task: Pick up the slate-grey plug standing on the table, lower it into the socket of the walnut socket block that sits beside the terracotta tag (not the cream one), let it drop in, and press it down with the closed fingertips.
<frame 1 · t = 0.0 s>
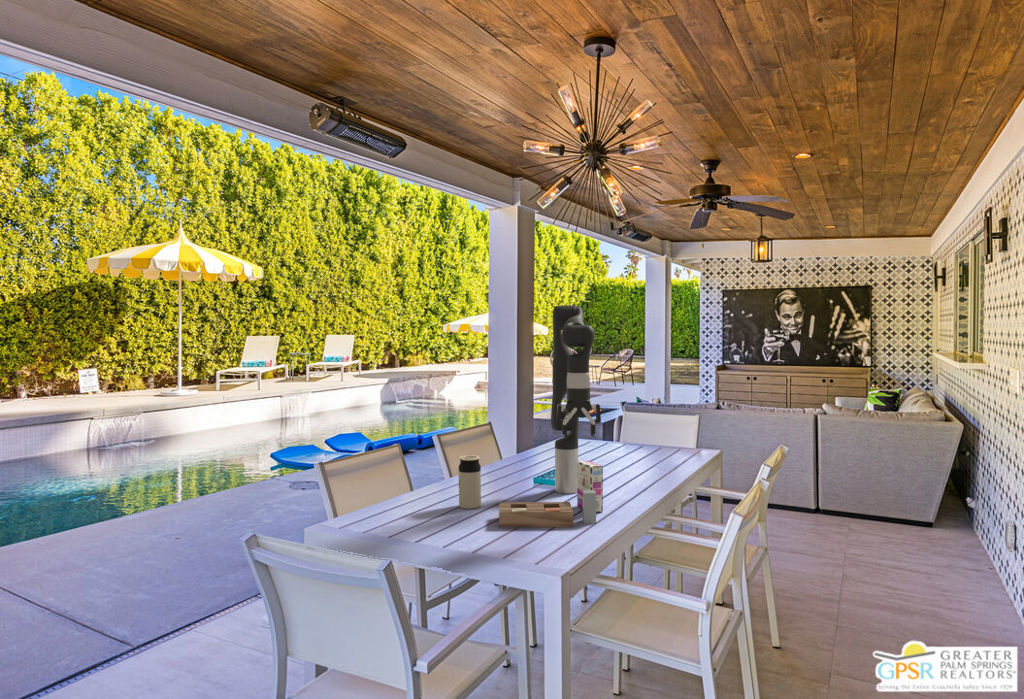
hand: (578, 436, 214), 29 cm above the table, tool pointing down, fingers open, 8 cm apart
socket block: (535, 521, 219), on the table
candy bar box: (589, 509, 234), on the table
plug: (589, 521, 219), on the table
travel mug: (470, 506, 239), on the table
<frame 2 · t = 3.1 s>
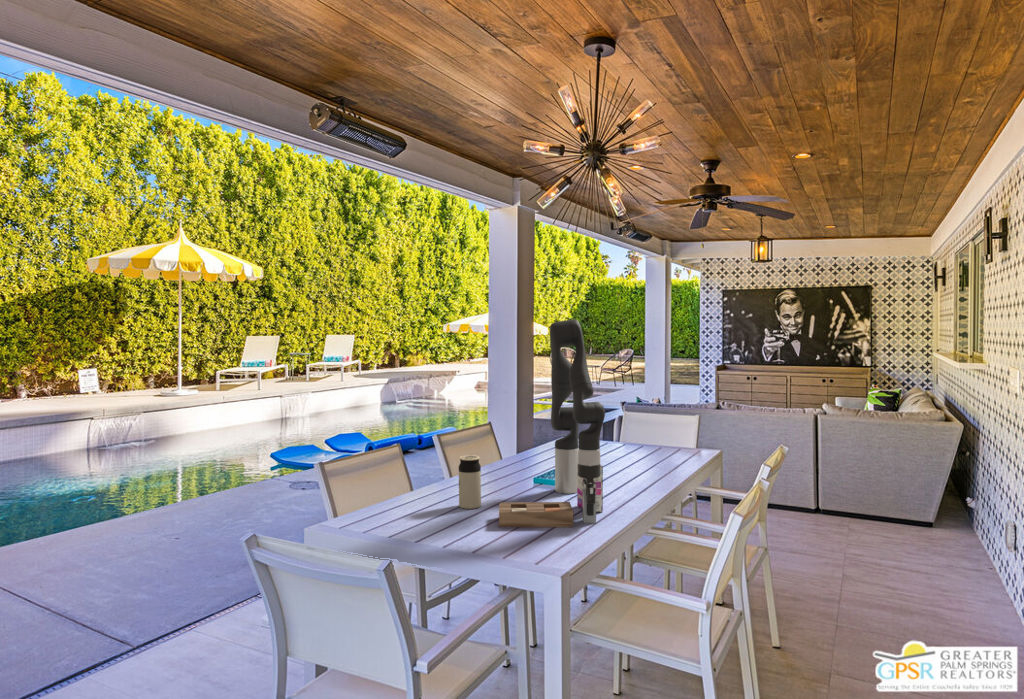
hand: (589, 513, 219), 3 cm above the table, tool pointing down, fingers closed on plug, 4 cm apart
plug: (589, 521, 219), on the table, touching gripper
everything else where it was.
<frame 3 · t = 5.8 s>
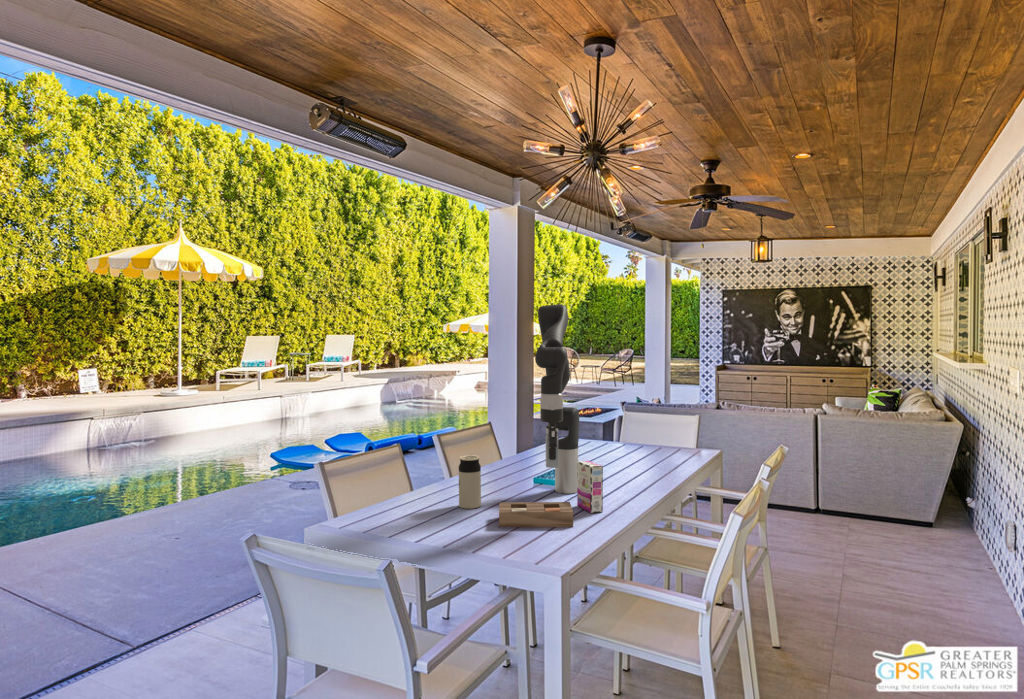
hand: (552, 457, 219), 21 cm above the table, tool pointing down, fingers closed on plug, 4 cm apart
plug: (552, 466, 220), point 18 cm above the table, touching gripper
everything else where it was.
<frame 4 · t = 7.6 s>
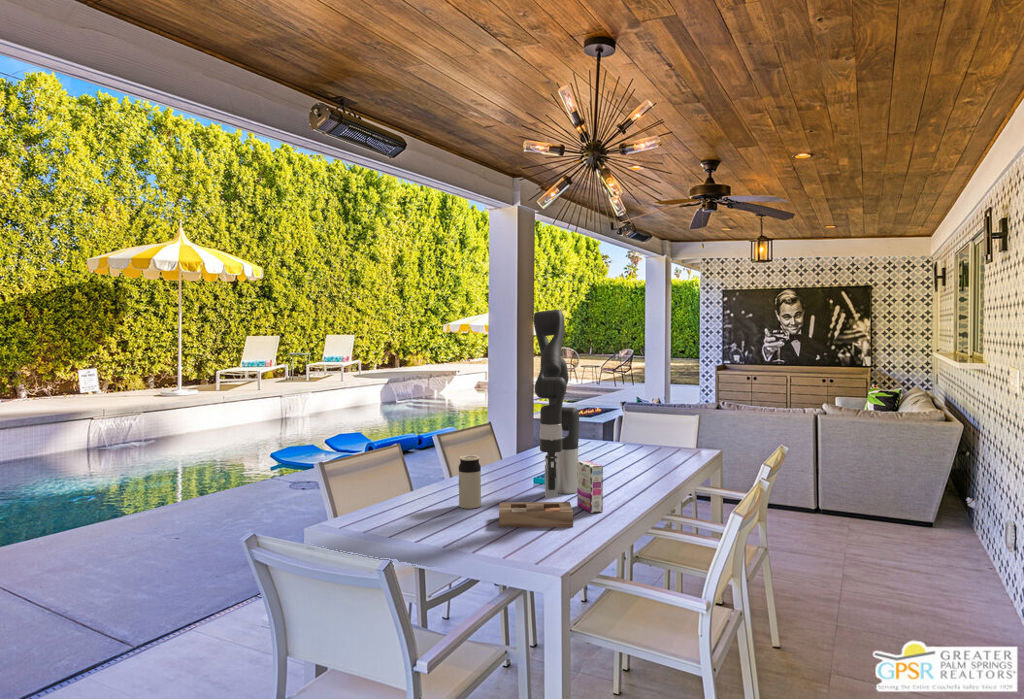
hand: (551, 487, 220), 11 cm above the table, tool pointing down, fingers closed on plug, 4 cm apart
plug: (551, 496, 220), point 8 cm above the table, touching gripper
everything else where it was.
when the fingers open (7 cm above the table, at t = 8.9 s): plug drops 3 cm, resting on socket block.
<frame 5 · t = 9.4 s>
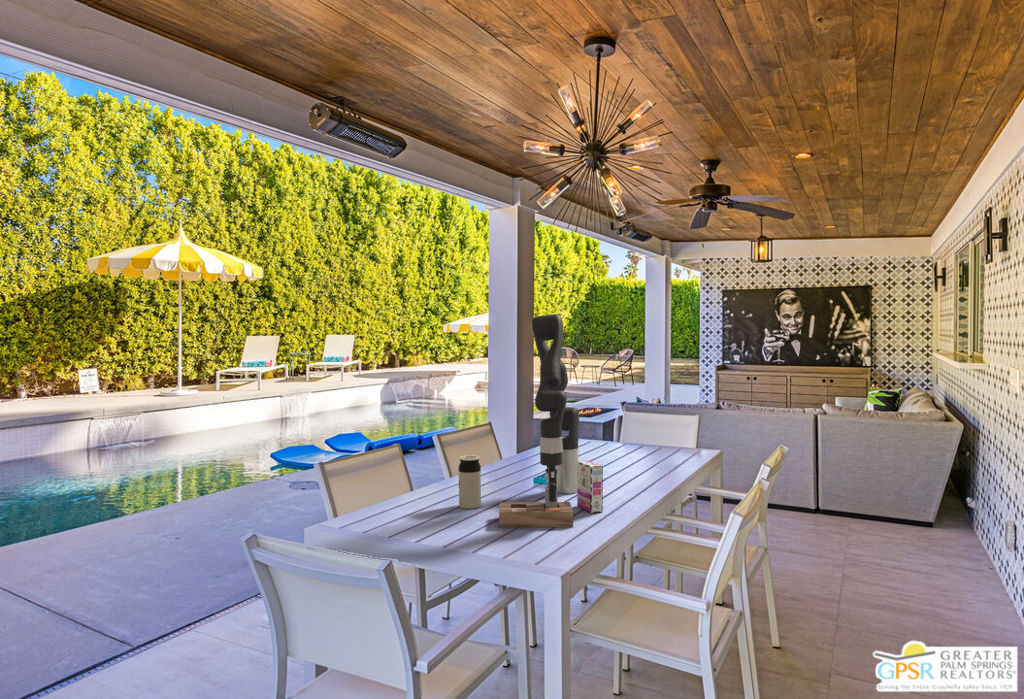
hand: (551, 498, 220), 8 cm above the table, tool pointing down, fingers open, 8 cm apart
plug: (551, 517, 220), point 1 cm above the table, touching socket block
everything else where it was.
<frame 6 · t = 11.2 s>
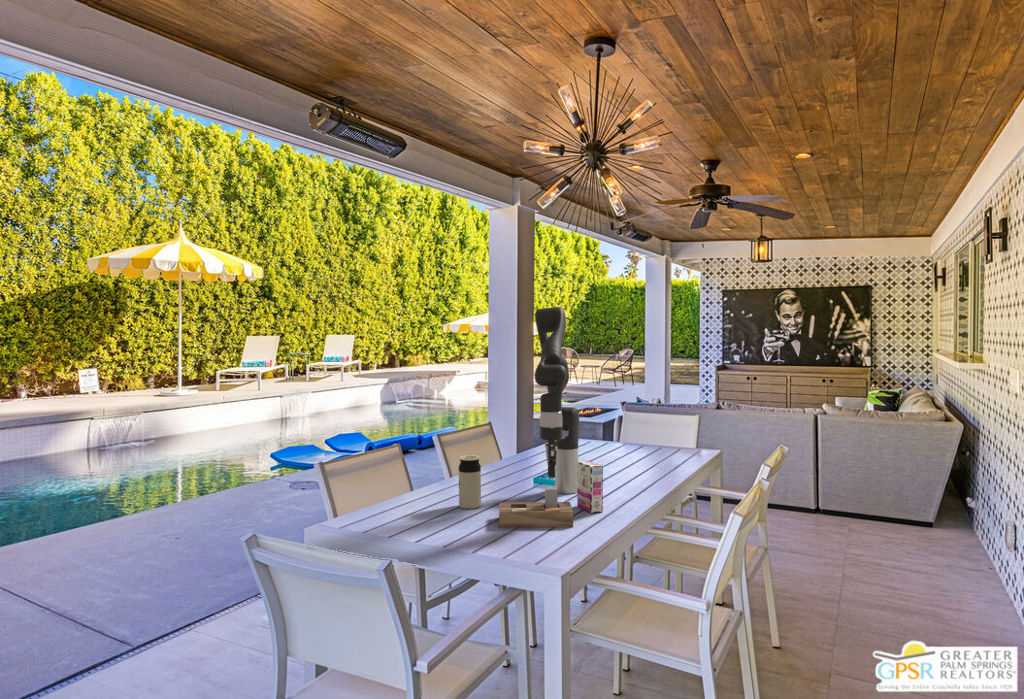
hand: (551, 476, 220), 15 cm above the table, tool pointing down, fingers closed
nothing on the table moved.
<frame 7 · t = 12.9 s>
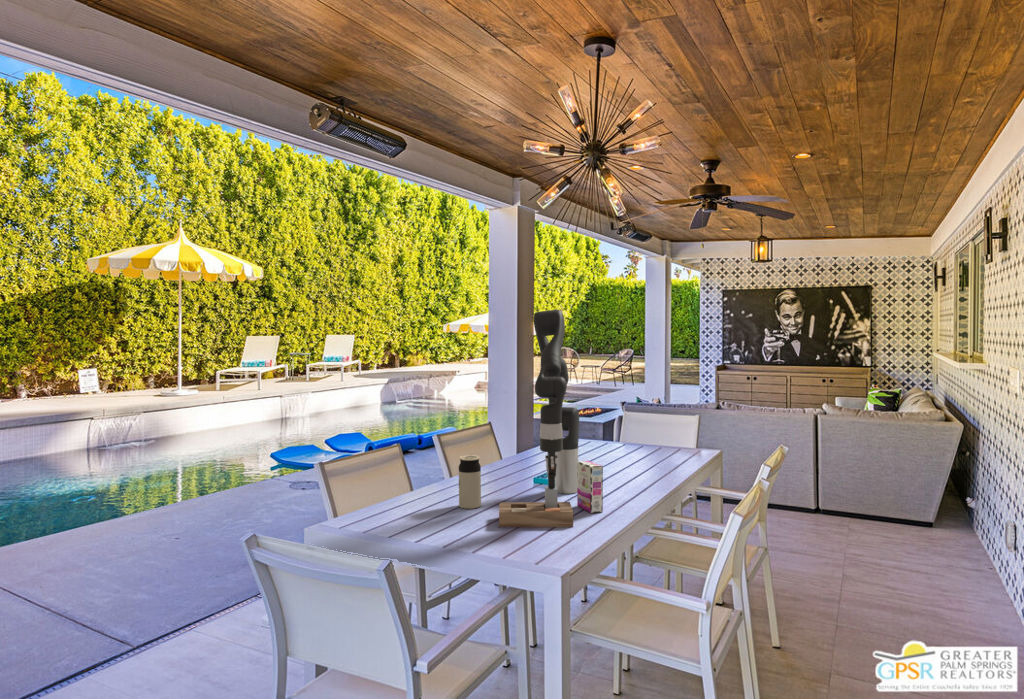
hand: (551, 487, 220), 11 cm above the table, tool pointing down, fingers closed
nothing on the table moved.
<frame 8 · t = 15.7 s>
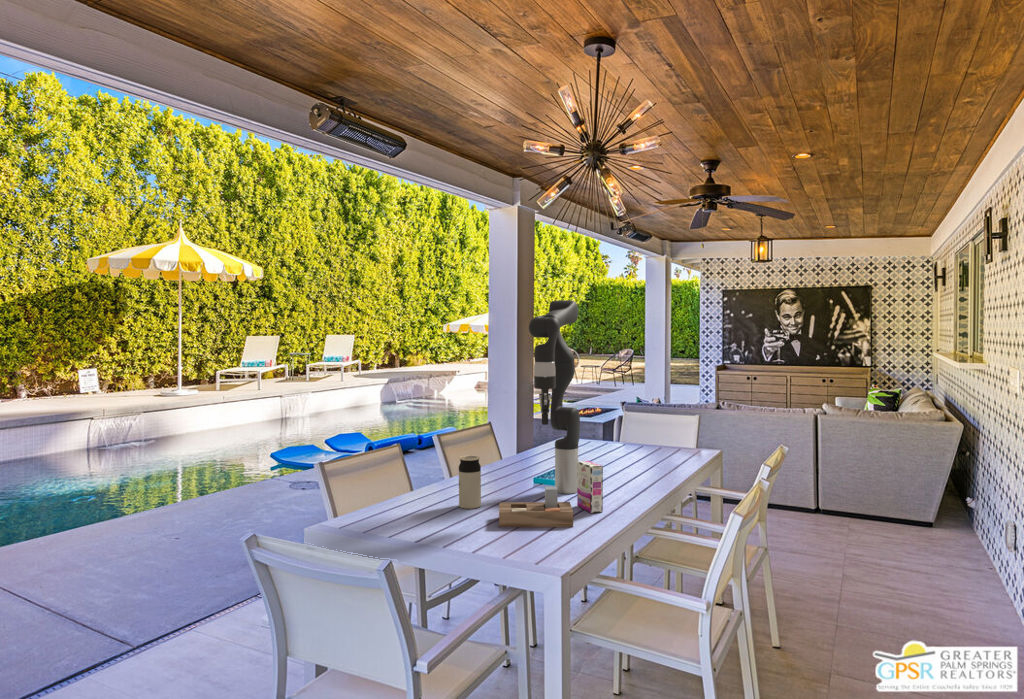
hand: (545, 424, 229), 31 cm above the table, tool pointing down, fingers closed
nothing on the table moved.
at the end: plug 0.2 cm from the target spot, point 1.0 cm above the table; plug tilted 0°; the gripper is holding nothing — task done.
